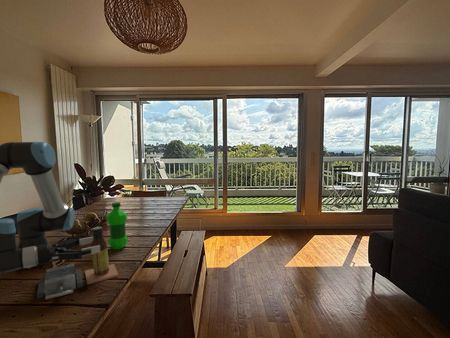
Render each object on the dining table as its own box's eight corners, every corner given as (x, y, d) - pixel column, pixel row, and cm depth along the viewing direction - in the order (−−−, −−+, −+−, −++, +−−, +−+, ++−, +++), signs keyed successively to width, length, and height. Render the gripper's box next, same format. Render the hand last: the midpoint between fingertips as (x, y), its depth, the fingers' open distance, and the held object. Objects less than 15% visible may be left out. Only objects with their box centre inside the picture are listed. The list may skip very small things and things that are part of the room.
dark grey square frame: (40, 282, 110) (39, 270, 109) (81, 272, 117) (80, 261, 117) (35, 308, 92) (34, 294, 91) (84, 295, 99) (83, 282, 99)
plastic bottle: (132, 246, 148) (130, 202, 146) (116, 252, 139) (113, 206, 137) (120, 243, 153) (118, 200, 151) (104, 249, 144) (101, 204, 142)
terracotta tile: (85, 272, 117) (84, 270, 117) (113, 265, 124) (113, 263, 123) (87, 284, 107) (87, 282, 107) (118, 276, 113) (118, 274, 113)
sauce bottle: (111, 268, 118) (109, 225, 117) (105, 275, 112) (103, 229, 111) (96, 269, 118) (94, 225, 117) (90, 276, 112) (87, 230, 111)
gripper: (40, 254, 113) (94, 243, 125) (36, 277, 92) (102, 262, 103) (38, 237, 113) (93, 228, 124) (34, 257, 92) (101, 244, 103)
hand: (97, 243), depth 114 cm, fingers open, 13 cm apart
